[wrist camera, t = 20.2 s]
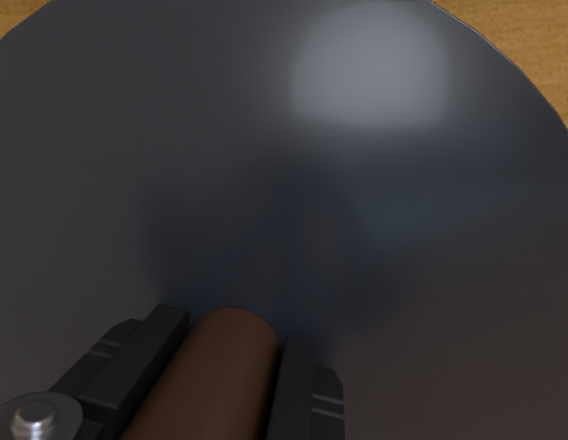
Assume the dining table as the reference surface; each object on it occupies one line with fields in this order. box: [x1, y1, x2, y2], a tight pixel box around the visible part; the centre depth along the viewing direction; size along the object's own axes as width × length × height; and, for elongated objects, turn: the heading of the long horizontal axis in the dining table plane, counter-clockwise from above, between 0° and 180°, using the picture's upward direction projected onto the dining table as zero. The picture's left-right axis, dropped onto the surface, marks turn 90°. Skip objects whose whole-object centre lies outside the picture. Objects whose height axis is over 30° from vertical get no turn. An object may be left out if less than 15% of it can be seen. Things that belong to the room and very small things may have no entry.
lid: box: [0, 0, 568, 440], centre depth 9 cm, size 18×18×6 cm
